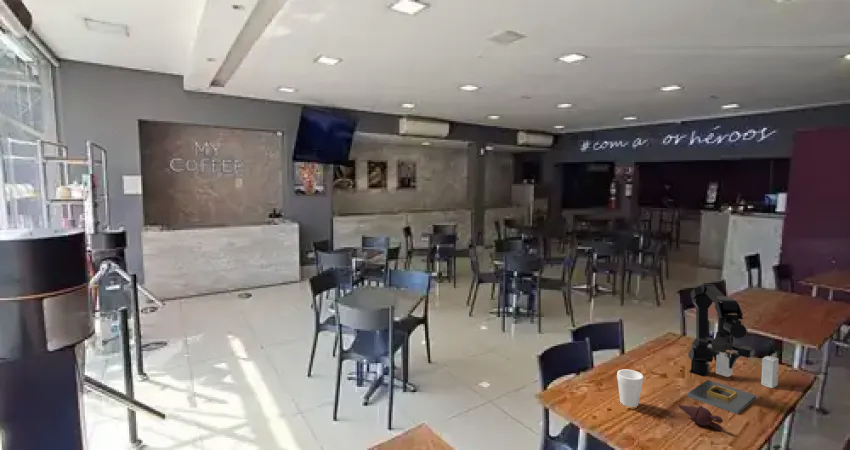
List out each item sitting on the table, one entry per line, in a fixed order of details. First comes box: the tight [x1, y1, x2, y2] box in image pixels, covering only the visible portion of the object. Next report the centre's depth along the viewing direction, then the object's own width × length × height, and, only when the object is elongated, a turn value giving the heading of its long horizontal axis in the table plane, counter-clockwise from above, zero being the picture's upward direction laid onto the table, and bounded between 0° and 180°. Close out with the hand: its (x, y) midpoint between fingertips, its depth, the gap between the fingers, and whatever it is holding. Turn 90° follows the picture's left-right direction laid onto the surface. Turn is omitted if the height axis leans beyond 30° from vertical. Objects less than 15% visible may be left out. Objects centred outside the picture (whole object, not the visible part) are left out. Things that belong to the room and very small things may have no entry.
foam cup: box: [616, 368, 644, 407], centre depth 177 cm, size 10×9×13 cm
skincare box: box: [760, 355, 780, 389], centre depth 192 cm, size 6×4×12 cm
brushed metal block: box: [715, 350, 734, 378], centre depth 181 cm, size 4×4×10 cm
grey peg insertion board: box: [687, 379, 757, 415], centre depth 182 cm, size 18×20×3 cm
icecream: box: [678, 404, 723, 432], centre depth 163 cm, size 7×7×15 cm
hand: (724, 366), depth 181 cm, fingers closed on brushed metal block, 4 cm apart
